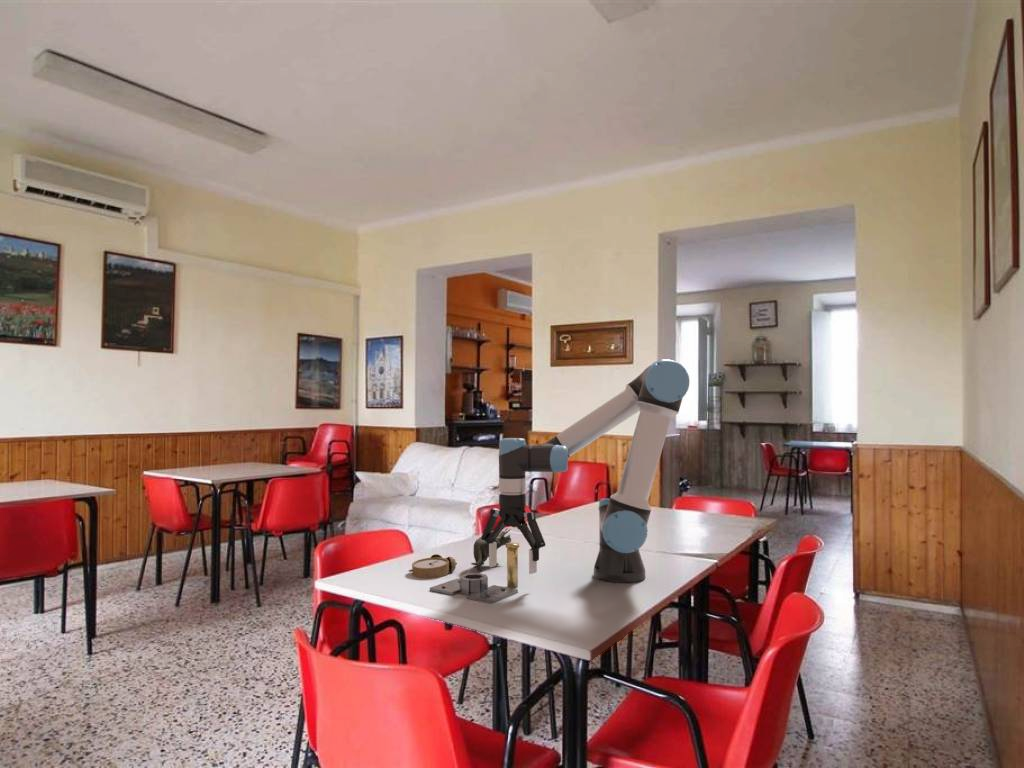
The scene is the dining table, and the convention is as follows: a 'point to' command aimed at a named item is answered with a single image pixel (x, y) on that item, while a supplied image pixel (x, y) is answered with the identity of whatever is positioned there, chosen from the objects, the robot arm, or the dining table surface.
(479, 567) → the dinosaur figurine
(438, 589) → the grey plate with ring
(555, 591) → the dining table surface
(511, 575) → the pin
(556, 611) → the dining table surface
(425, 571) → the alarm clock
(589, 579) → the dining table surface
